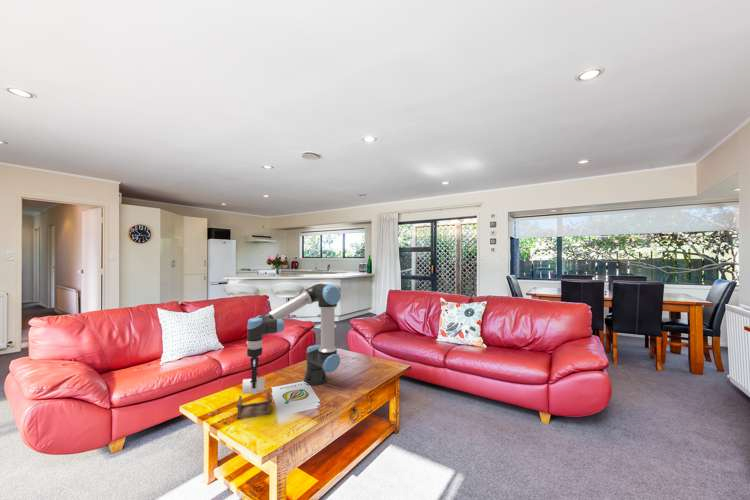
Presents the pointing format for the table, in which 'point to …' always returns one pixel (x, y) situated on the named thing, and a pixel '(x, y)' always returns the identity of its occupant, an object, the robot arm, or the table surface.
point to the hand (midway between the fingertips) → (254, 390)
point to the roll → (247, 385)
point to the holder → (253, 408)
